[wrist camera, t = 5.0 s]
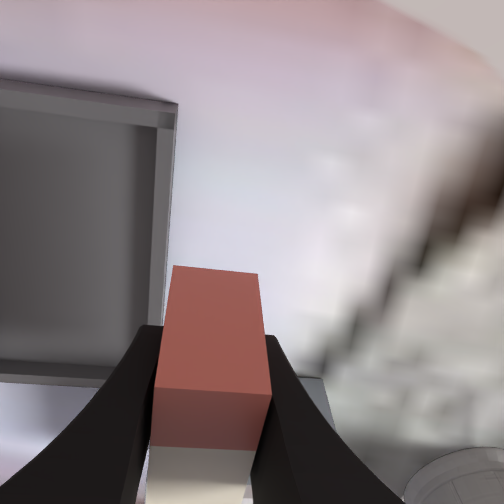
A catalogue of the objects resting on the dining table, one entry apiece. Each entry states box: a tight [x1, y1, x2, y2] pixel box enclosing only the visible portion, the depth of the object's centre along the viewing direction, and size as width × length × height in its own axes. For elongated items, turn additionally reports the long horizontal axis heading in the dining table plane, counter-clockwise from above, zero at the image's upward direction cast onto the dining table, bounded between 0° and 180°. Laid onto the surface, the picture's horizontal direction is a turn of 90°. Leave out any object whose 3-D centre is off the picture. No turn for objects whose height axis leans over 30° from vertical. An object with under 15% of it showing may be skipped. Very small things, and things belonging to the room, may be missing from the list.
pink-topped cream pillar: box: [145, 265, 272, 504], centre depth 14 cm, size 10×2×4 cm, turn 171°
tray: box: [0, 79, 178, 388], centre depth 20 cm, size 14×9×2 cm, turn 171°
